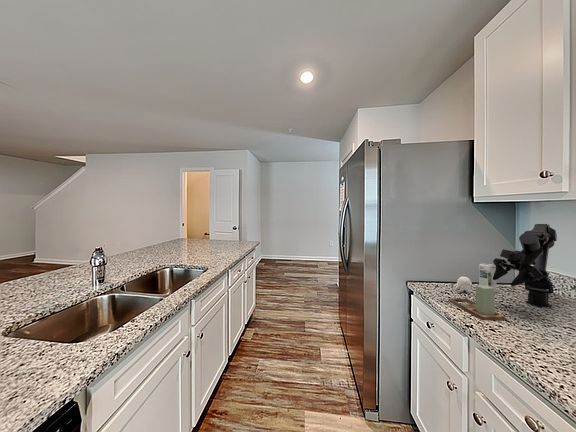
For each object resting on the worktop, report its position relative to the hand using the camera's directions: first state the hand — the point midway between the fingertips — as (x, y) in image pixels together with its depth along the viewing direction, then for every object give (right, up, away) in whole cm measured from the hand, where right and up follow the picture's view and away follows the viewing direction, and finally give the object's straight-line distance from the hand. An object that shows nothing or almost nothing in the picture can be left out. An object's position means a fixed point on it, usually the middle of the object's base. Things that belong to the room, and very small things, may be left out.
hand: (502, 282), depth 111 cm
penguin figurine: (+4, -13, +30) cm, 33 cm away
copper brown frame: (-9, -13, +4) cm, 16 cm away
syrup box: (+16, -12, +28) cm, 35 cm away
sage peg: (-9, -13, -3) cm, 16 cm away
